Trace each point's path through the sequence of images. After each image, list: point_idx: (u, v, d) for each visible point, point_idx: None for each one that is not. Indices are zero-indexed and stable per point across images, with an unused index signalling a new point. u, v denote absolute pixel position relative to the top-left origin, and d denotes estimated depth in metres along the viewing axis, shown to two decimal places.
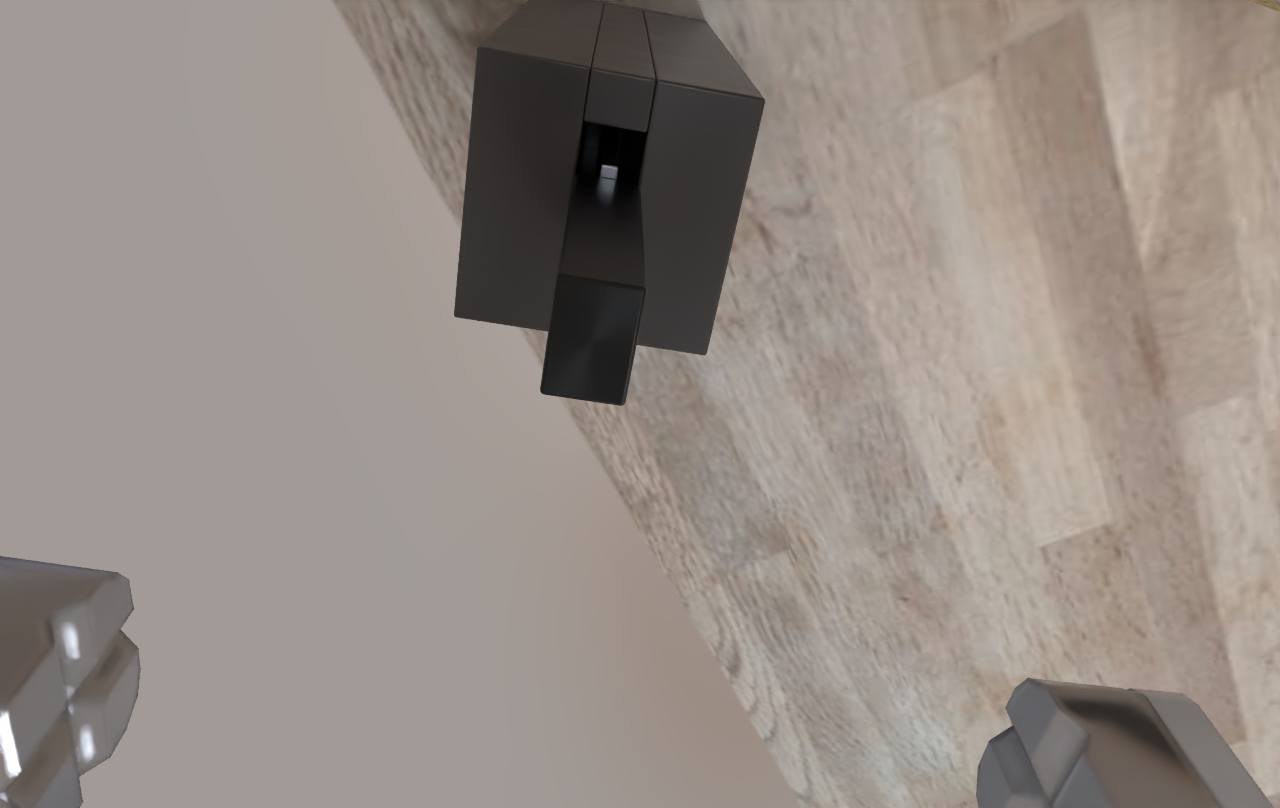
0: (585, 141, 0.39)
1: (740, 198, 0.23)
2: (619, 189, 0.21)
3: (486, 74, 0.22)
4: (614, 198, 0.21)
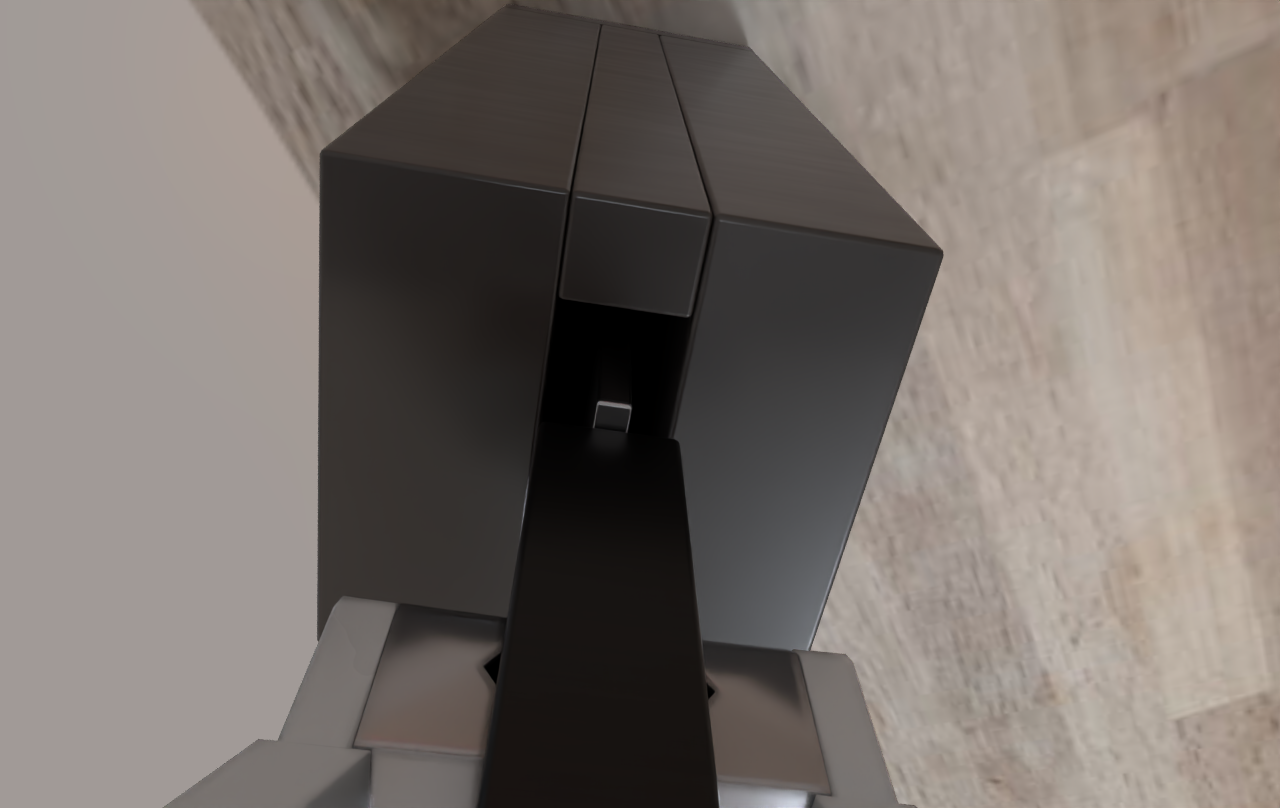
0: None
1: (879, 438, 0.12)
2: (636, 470, 0.10)
3: (342, 207, 0.10)
4: (626, 515, 0.09)
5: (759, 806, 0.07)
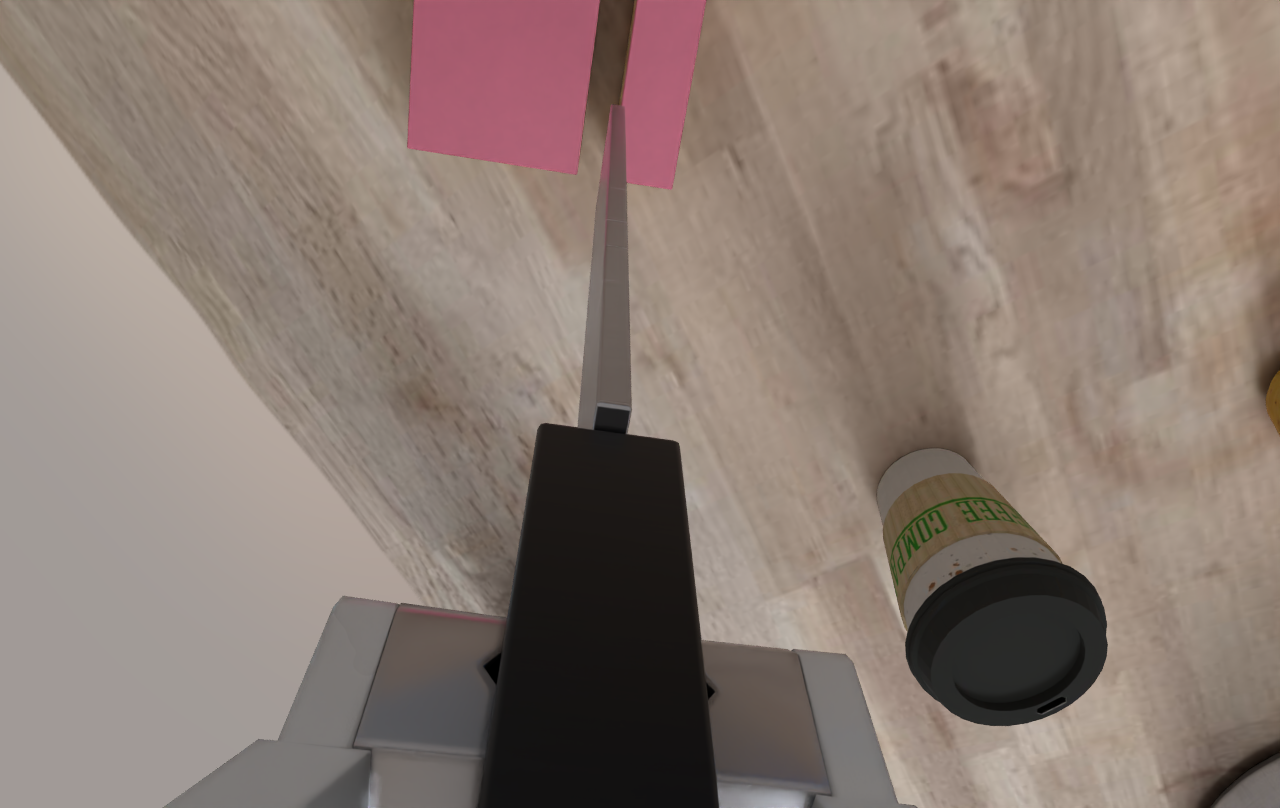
0: None
1: None
2: (636, 472, 0.10)
3: None
4: (626, 517, 0.09)
5: (759, 806, 0.07)
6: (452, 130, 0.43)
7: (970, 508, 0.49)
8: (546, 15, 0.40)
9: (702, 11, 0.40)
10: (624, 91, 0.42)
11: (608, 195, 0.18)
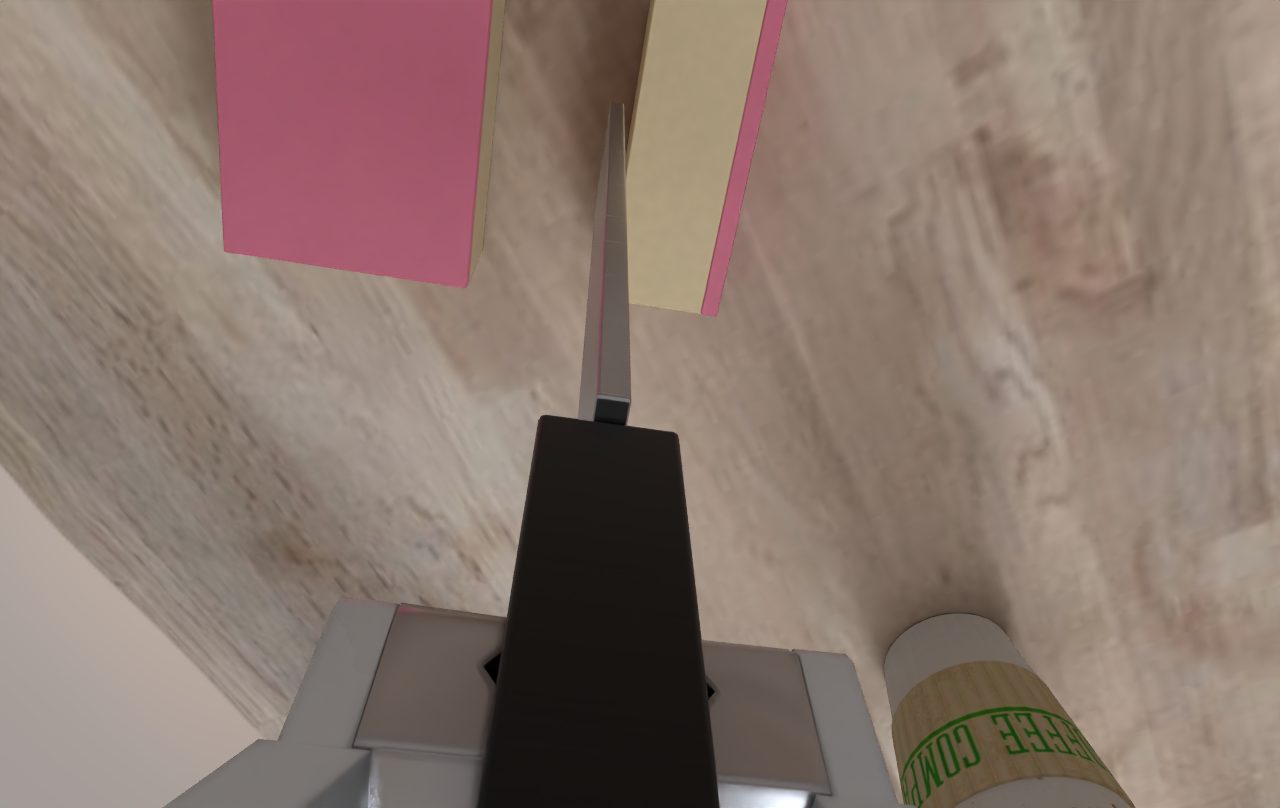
0: None
1: None
2: (635, 462, 0.10)
3: None
4: (625, 506, 0.09)
5: (759, 806, 0.07)
6: (285, 228, 0.30)
7: (1012, 728, 0.36)
8: (409, 69, 0.28)
9: None
10: (740, 204, 0.31)
11: (607, 191, 0.18)
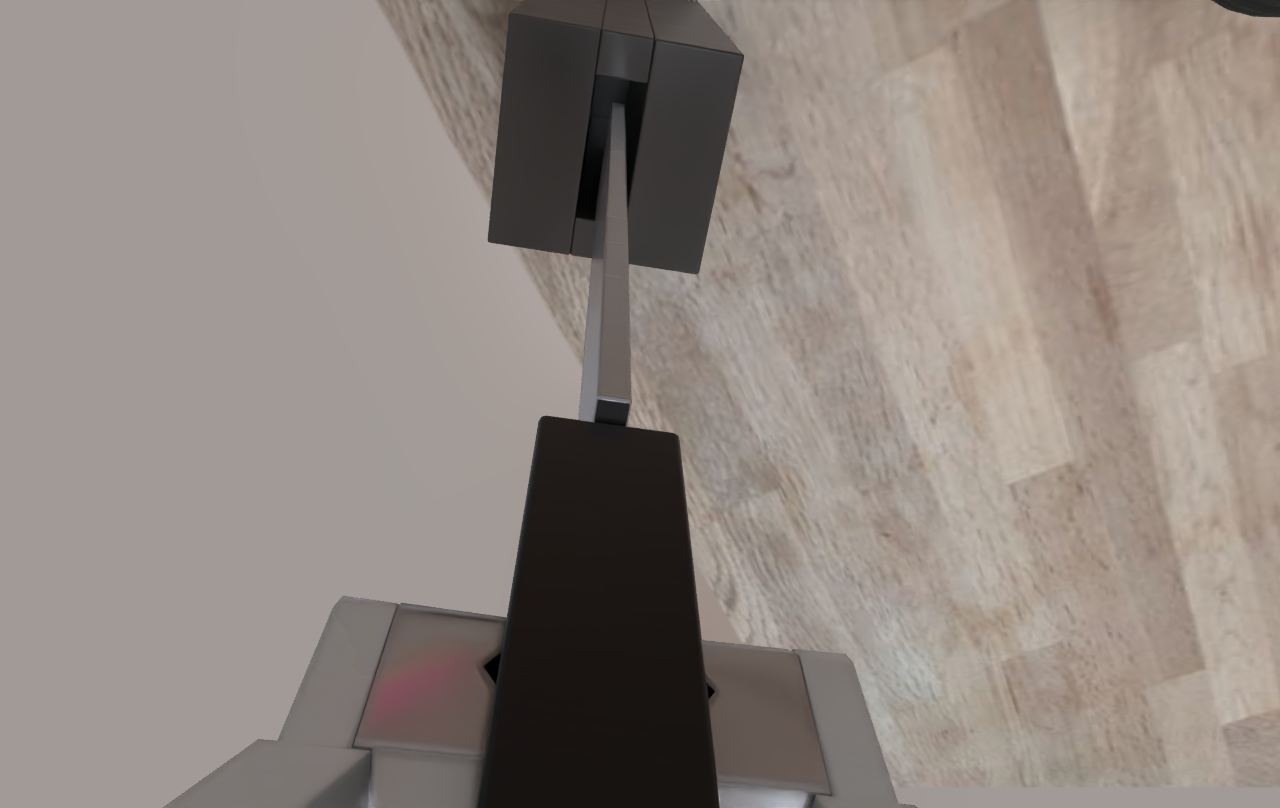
0: (592, 110, 0.44)
1: (725, 138, 0.28)
2: (636, 464, 0.10)
3: (516, 35, 0.27)
4: (626, 507, 0.09)
5: (759, 806, 0.07)
6: None
7: None
8: None
9: None
10: None
11: (608, 192, 0.18)
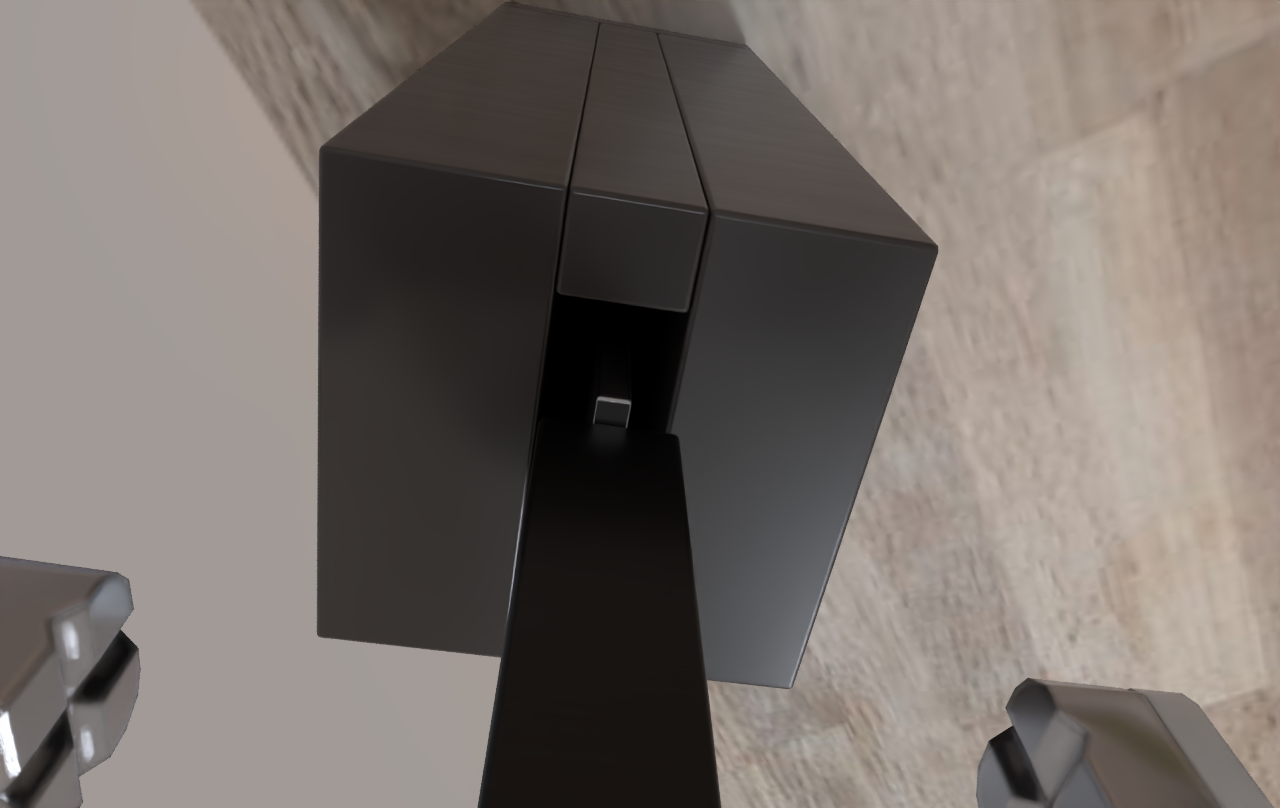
0: None
1: (874, 433, 0.12)
2: (636, 465, 0.10)
3: (342, 203, 0.10)
4: (626, 508, 0.09)
5: None
6: None
7: None
8: None
9: None
10: None
11: None
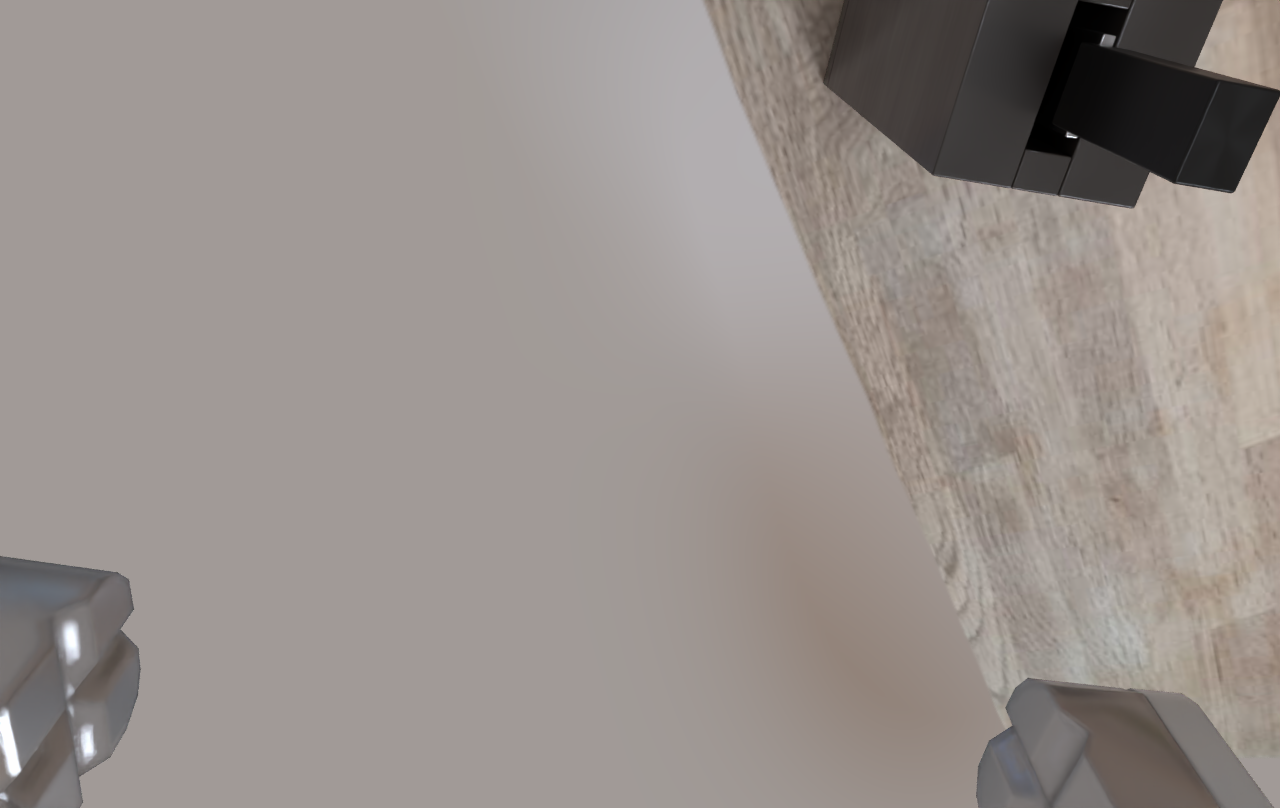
0: None
1: None
2: (1129, 51, 0.26)
3: None
4: (1140, 54, 0.25)
5: None
6: None
7: None
8: None
9: None
10: None
11: None
